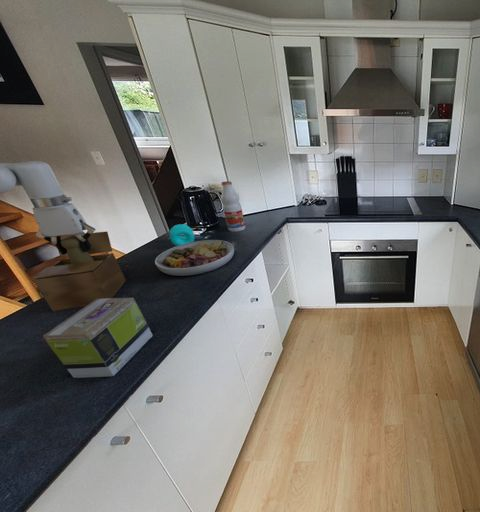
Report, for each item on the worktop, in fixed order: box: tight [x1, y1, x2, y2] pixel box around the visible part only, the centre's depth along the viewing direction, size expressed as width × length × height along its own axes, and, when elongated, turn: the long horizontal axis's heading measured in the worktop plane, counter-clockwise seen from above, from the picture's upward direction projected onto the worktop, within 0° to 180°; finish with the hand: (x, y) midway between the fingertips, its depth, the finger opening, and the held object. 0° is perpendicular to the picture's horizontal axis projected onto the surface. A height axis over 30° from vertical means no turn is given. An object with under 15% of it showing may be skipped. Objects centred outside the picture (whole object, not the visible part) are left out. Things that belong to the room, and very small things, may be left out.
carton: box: [31, 252, 127, 312], centre depth 98 cm, size 15×16×13 cm
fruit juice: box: [220, 180, 246, 233], centre depth 157 cm, size 9×9×28 cm
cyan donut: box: [169, 223, 196, 247], centre depth 140 cm, size 10×10×10 cm
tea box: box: [42, 297, 154, 379], centre depth 72 cm, size 15×10×15 cm
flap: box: [57, 231, 113, 259], centre depth 101 cm, size 15×8×1 cm
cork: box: [61, 237, 94, 264], centre depth 97 cm, size 6×6×11 cm
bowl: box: [154, 239, 235, 277], centre depth 123 cm, size 30×30×8 cm
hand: (76, 251), depth 97 cm, fingers closed on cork, 5 cm apart
